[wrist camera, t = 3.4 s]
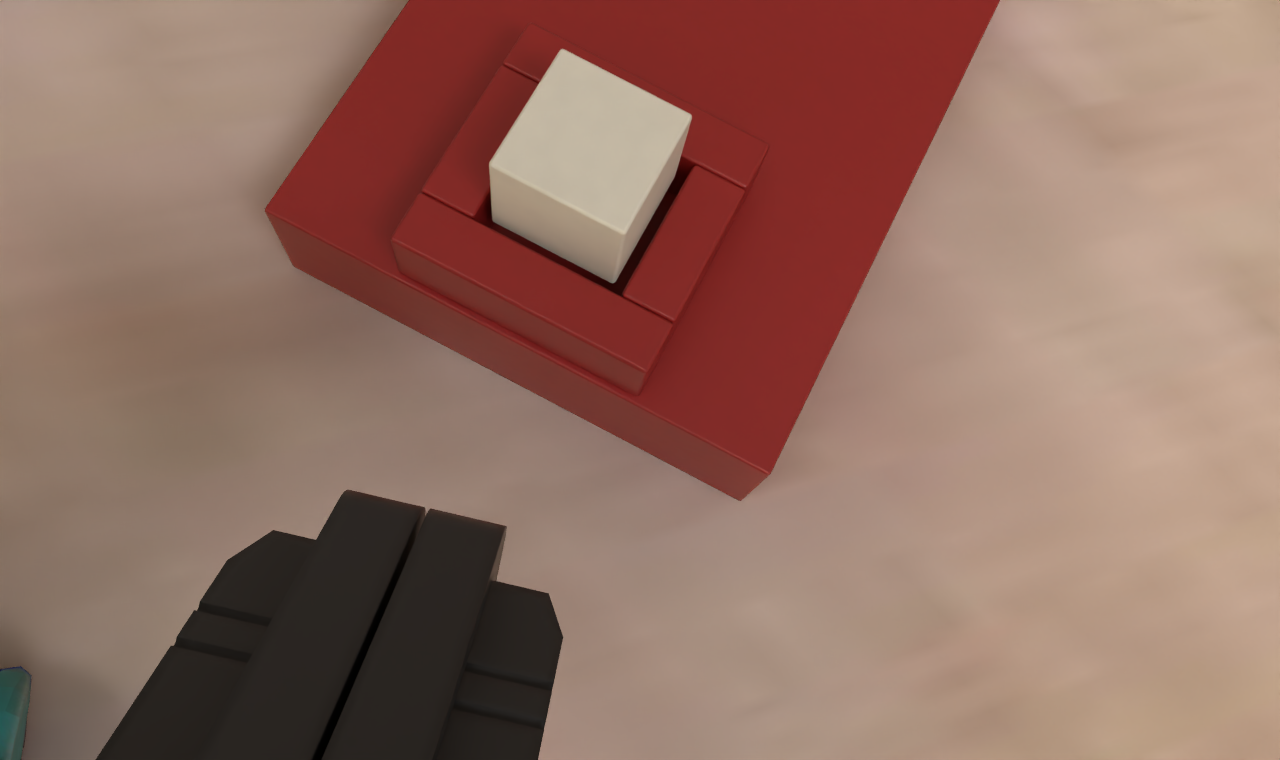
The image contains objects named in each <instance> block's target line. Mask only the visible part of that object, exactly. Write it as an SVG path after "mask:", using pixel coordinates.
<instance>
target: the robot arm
mask: <svg viewBox="0 0 1280 760" xmlns="http://www.w3.org/2000/svg"><path fill="white" fill-rule="evenodd" d="M506 529H507V526H503V525H499V524H495V523H490V522H486V521H482V520H477V519H473V518H469V517H465V516H460V515H456V514H452V513H447V512H443V511H439V510H435V509H430V510H429V511H428V513H427V514H426V517H425V508H424V507H420V506H416V505H412V504H407V503H403V502H399V501H395V500H390V499H386V498H382V497H377V496H373V495H369V494H365V493H360V492H356V491H352V490H346V491H344V493H343V494H342V495H341V497H340V498H339V500H338V502H337V504H336V505H335V507H334V509H333V511H332V513H331V514H330V516H329V518H328V520H327V522H326V523H325V525H324V527H323V529H322V530H321V532H320V534H319V536H318V538H317V539H316V540H314V539H309V538H305V537H301V536H296V535H292V534H288V533H283V532H279V531H275V530H273V531H271V532H270V533H268V534H267V535H265V536H264V537H262V538H261V539H259V540H258V541H256V542H255V543H253V544H251V545H250V546H248V547H247V548H245V549H244V550H242V551H241V552H239V553H238V554H236V555H235V556H233V557H231V558H230V559H228V560H227V561H226V563H225V564H224V566H223V567H222V569H221V570H220V572H219V574H218V575H217V577H216V578H215V580H214V581H213V583H212V584H211V586H210V587H209V589H208V590H207V592H206V593H205V595H204V596H203V598H202V599H201V601H200V604H199V607H198V610H197V611H196V610H194V611H193V613H192V614H191V616H190V617H189V619H188V621H187V622H186V624H185V625H184V627H183V628H182V630H181V631H180V633H179V634H178V636H177V639H176V642H175V645H174V646H170V648H169V649H168V651H167V652H166V654H165V655H164V657H163V658H162V660H161V661H160V663H159V665H158V666H157V668H156V669H155V671H154V672H153V674H152V675H151V677H150V678H149V680H148V681H147V683H146V684H145V686H144V687H143V689H142V690H141V692H140V693H139V695H138V696H137V698H136V699H135V701H134V702H133V704H132V705H131V707H130V709H129V710H128V712H127V713H126V715H125V716H124V718H123V719H122V721H121V722H120V724H119V725H118V727H117V728H116V730H115V731H114V733H113V734H112V736H111V737H110V739H109V740H108V742H107V743H106V745H105V746H104V748H103V749H102V751H101V753H100V754H99V756H98V757H97V759H96V760H538V756H539V752H540V747H541V742H542V737H543V732H544V726H545V722H546V718H547V713H548V708H549V703H550V698H551V693H552V688H553V683H554V679H555V674H556V669H557V664H558V659H559V654H560V650H561V645H562V640H563V635H562V632H561V629H560V626H559V623H558V620H557V617H556V614H555V611H554V608H553V605H552V602H551V599H550V596H549V593H544V592H540V591H536V590H531V589H527V588H523V587H518V586H514V585H510V584H505V583H501V582H497V581H496V579H497V575H498V570H499V565H500V560H501V556H502V551H503V546H504V541H505V536H506Z"/></svg>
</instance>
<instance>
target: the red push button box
mask: <svg viewBox="0 0 1280 760" xmlns="http://www.w3.org/2000/svg"><path fill="white" fill-rule="evenodd" d="M999 1H1000V0H409V1H408V2H407V4H406V5H405V7H404V8H403V10H402V11H401V13H400V14H399V15H398V17H397V18H396V20H395V21H394V23H393V24H392V26H391V27H390V28H389V30H388V31H387V33H386V34H385V36H384V37H383V39H382V40H381V42H380V43H379V44H378V46H377V47H376V49H375V50H374V52H373V53H372V55H371V56H370V57H369V59H368V60H367V62H366V63H365V65H364V66H363V68H362V69H361V71H360V72H359V73H358V75H357V76H356V78H355V79H354V81H353V82H352V84H351V85H350V86H349V88H348V89H347V91H346V92H345V94H344V95H343V97H342V98H341V99H340V101H339V102H338V104H337V105H336V107H335V108H334V110H333V111H332V113H331V114H330V115H329V117H328V118H327V120H326V121H325V123H324V124H323V126H322V127H321V128H320V130H319V131H318V133H317V134H316V136H315V137H314V139H313V140H312V141H311V143H310V144H309V146H308V147H307V149H306V150H305V152H304V153H303V155H302V156H301V157H300V159H299V160H298V162H297V163H296V165H295V166H294V168H293V169H292V170H291V172H290V173H289V175H288V176H287V178H286V179H285V181H284V182H283V183H282V185H281V186H280V188H279V189H278V191H277V192H276V194H275V195H274V197H273V198H272V199H271V201H270V202H269V204H268V205H267V207H266V208H265V212H266V214H267V216H268V218H269V220H270V222H271V224H272V226H273V227H274V229H275V231H276V233H277V235H278V237H279V239H280V241H281V243H282V245H283V247H284V249H285V251H286V253H287V255H288V256H289V258H290V260H291V262H292V264H293V266H294V267H296V268H298V269H300V270H302V271H304V272H306V273H307V274H309V275H311V276H313V277H315V278H317V279H319V280H321V281H323V282H325V283H326V284H328V285H330V286H332V287H334V288H336V289H338V290H340V291H342V292H344V293H345V294H347V295H349V296H351V297H353V298H355V299H357V300H359V301H361V302H363V303H364V304H366V305H368V306H370V307H372V308H374V309H376V310H378V311H380V312H382V313H383V314H385V315H387V316H389V317H391V318H393V319H395V320H397V321H399V322H401V323H402V324H404V325H406V326H408V327H410V328H412V329H414V330H416V331H418V332H420V333H421V334H423V335H425V336H427V337H429V338H431V339H433V340H435V341H437V342H439V343H441V344H442V345H444V346H446V347H448V348H450V349H452V350H454V351H456V352H458V353H460V354H461V355H463V356H465V357H467V358H469V359H471V360H473V361H475V362H477V363H479V364H480V365H482V366H484V367H486V368H488V369H490V370H492V371H494V372H496V373H498V374H499V375H501V376H503V377H505V378H507V379H509V380H511V381H513V382H515V383H517V384H518V385H520V386H522V387H524V388H526V389H528V390H530V391H532V392H534V393H536V394H537V395H539V396H541V397H543V398H545V399H547V400H549V401H551V402H553V403H555V404H556V405H558V406H560V407H562V408H564V409H566V410H568V411H570V412H572V413H574V414H575V415H577V416H579V417H581V418H583V419H585V420H587V421H589V422H591V423H593V424H594V425H596V426H598V427H600V428H602V429H604V430H606V431H608V432H610V433H612V434H613V435H615V436H617V437H619V438H621V439H623V440H625V441H627V442H629V443H631V444H632V445H634V446H636V447H638V448H640V449H642V450H644V451H646V452H648V453H650V454H651V455H653V456H655V457H657V458H659V459H661V460H663V461H665V462H667V463H669V464H670V465H672V466H674V467H676V468H678V469H680V470H682V471H684V472H686V473H688V474H689V475H691V476H693V477H695V478H697V479H699V480H701V481H703V482H705V483H707V484H708V485H710V486H712V487H714V488H716V489H718V490H720V491H722V492H724V493H726V494H727V495H729V496H731V497H733V498H735V499H737V500H739V501H741V500H742V499H743V498H745V497H746V496H747V495H748V494H749V493H750V492H751V491H752V490H753V489H754V488H755V487H756V486H758V485H759V484H760V483H761V482H762V481H763V480H764V479H765V478H766V477H767V476H768V475H769V474H771V472H772V470H773V468H774V465H775V463H776V461H777V459H778V457H779V455H780V453H781V451H782V449H783V447H784V445H785V443H786V441H787V439H788V437H789V434H790V432H791V430H792V428H793V426H794V424H795V422H796V420H797V418H798V416H799V414H800V412H801V410H802V408H803V406H804V404H805V401H806V399H807V397H808V395H809V393H810V391H811V389H812V387H813V385H814V383H815V381H816V379H817V377H818V375H819V373H820V371H821V368H822V366H823V364H824V362H825V360H826V358H827V356H828V354H829V352H830V350H831V348H832V346H833V344H834V342H835V340H836V338H837V335H838V333H839V331H840V329H841V327H842V325H843V323H844V321H845V319H846V317H847V315H848V313H849V311H850V309H851V307H852V305H853V302H854V300H855V298H856V296H857V294H858V292H859V290H860V288H861V286H862V284H863V282H864V280H865V278H866V276H867V274H868V272H869V269H870V267H871V265H872V263H873V261H874V259H875V257H876V255H877V253H878V251H879V249H880V247H881V245H882V243H883V241H884V239H885V236H886V234H887V232H888V230H889V228H890V226H891V224H892V222H893V220H894V218H895V216H896V214H897V212H898V210H899V208H900V206H901V203H902V201H903V199H904V197H905V195H906V193H907V191H908V189H909V187H910V185H911V183H912V181H913V179H914V177H915V175H916V173H917V170H918V168H919V166H920V164H921V162H922V160H923V158H924V156H925V154H926V152H927V150H928V148H929V146H930V144H931V142H932V140H933V137H934V135H935V133H936V131H937V129H938V127H939V125H940V123H941V121H942V119H943V117H944V115H945V113H946V111H947V109H948V107H949V104H950V102H951V100H952V98H953V96H954V94H955V92H956V90H957V88H958V86H959V84H960V82H961V80H962V78H963V76H964V74H965V71H966V69H967V67H968V65H969V63H970V61H971V59H972V57H973V55H974V53H975V51H976V49H977V47H978V45H979V43H980V40H981V38H982V36H983V34H984V32H985V30H986V28H987V26H988V24H989V22H990V20H991V18H992V16H993V14H994V12H995V10H996V7H997V5H998V3H999ZM561 49H565V50H567V51H569V52H571V53H573V54H574V55H576V56H578V57H580V58H582V59H584V60H586V61H588V62H590V63H592V64H594V65H596V66H598V67H600V68H602V69H604V70H606V71H608V72H610V73H612V74H614V75H615V76H617V77H619V78H621V79H623V80H625V81H627V82H629V83H631V84H633V85H635V86H637V87H639V88H641V89H643V90H645V91H647V92H649V93H651V94H653V95H655V96H657V97H658V98H660V99H662V100H664V101H666V102H668V103H670V104H672V105H674V106H676V107H678V108H680V109H682V110H684V111H686V112H688V113H690V114H691V115H692V120H691V123H690V127H689V130H688V134H687V137H686V140H685V144H684V147H683V151H682V154H681V158H680V161H679V164H678V168H677V171H676V175H675V177H674V179H673V181H672V183H671V184H670V186H669V188H668V190H667V192H666V193H665V195H664V197H663V199H662V200H661V202H660V204H659V206H658V208H657V209H656V211H655V213H654V215H653V216H652V218H651V220H650V222H649V224H648V225H647V227H646V229H645V231H644V232H643V234H642V236H641V238H640V240H639V241H638V243H637V245H636V247H635V248H634V250H633V252H632V254H631V256H630V257H629V259H628V261H627V263H626V264H625V266H624V268H623V270H622V271H621V273H620V275H619V277H618V279H617V280H616V282H615V283H610V282H608V281H606V280H604V279H602V278H600V277H599V276H597V275H595V274H593V273H591V272H589V271H587V270H585V269H583V268H581V267H579V266H577V265H575V264H574V263H572V262H570V261H568V260H566V259H564V258H562V257H560V256H558V255H556V254H554V253H552V252H550V251H549V250H547V249H545V248H543V247H541V246H539V245H537V244H535V243H533V242H531V241H529V240H527V239H525V238H524V237H522V236H520V235H518V234H516V233H514V232H512V231H510V230H508V229H506V228H504V227H502V226H500V225H499V224H497V223H495V222H493V220H492V208H491V191H490V174H489V162H490V161H491V159H492V157H493V156H494V154H495V153H496V151H497V149H498V148H499V146H500V145H501V143H502V141H503V140H504V138H505V137H506V135H507V134H508V132H509V130H510V129H511V127H512V126H513V124H514V122H515V121H516V119H517V118H518V116H519V114H520V113H521V111H522V110H523V108H524V106H525V105H526V103H527V102H528V100H529V98H530V97H531V95H532V94H533V92H534V90H535V89H536V87H537V86H538V84H539V82H540V81H541V79H542V78H543V76H544V75H545V73H546V71H547V70H548V68H549V67H550V65H551V63H552V62H553V60H554V59H555V57H556V55H557V54H558V52H559V51H560V50H561Z"/></svg>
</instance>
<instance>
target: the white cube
mask: <svg viewBox="0 0 1280 760" xmlns="http://www.w3.org/2000/svg"><path fill="white" fill-rule="evenodd" d="M691 120H692V115H691V114H690V113H688V112H686V111H684V110H682V109H680V108H678V107H676V106H674V105H672V104H670V103H668V102H666V101H664V100H662V99H660V98H658V97H657V96H655V95H653V94H651V93H649V92H647V91H645V90H643V89H641V88H639V87H637V86H635V85H633V84H631V83H629V82H627V81H625V80H623V79H621V78H619V77H617V76H615V75H614V74H612V73H610V72H608V71H606V70H604V69H602V68H600V67H598V66H596V65H594V64H592V63H590V62H588V61H586V60H584V59H582V58H580V57H578V56H576V55H574V54H573V53H571V52H569V51H567V50H565V49H561V50H560V51H559V52H558V54H557V55H556V57H555V59H554V60H553V62H552V63H551V65H550V67H549V68H548V70H547V71H546V73H545V75H544V76H543V78H542V79H541V81H540V82H539V84H538V86H537V87H536V89H535V90H534V92H533V94H532V95H531V97H530V98H529V100H528V102H527V103H526V105H525V106H524V108H523V110H522V111H521V113H520V114H519V116H518V118H517V119H516V121H515V122H514V124H513V126H512V127H511V129H510V130H509V132H508V134H507V135H506V137H505V138H504V140H503V141H502V143H501V145H500V146H499V148H498V149H497V151H496V153H495V154H494V156H493V157H492V159H491V161H490V162H489V174H490V191H491V208H492V220H493V222H495V223H497V224H499V225H500V226H502V227H504V228H506V229H508V230H510V231H512V232H514V233H516V234H518V235H520V236H522V237H524V238H525V239H527V240H529V241H531V242H533V243H535V244H537V245H539V246H541V247H543V248H545V249H547V250H549V251H550V252H552V253H554V254H556V255H558V256H560V257H562V258H564V259H566V260H568V261H570V262H572V263H574V264H575V265H577V266H579V267H581V268H583V269H585V270H587V271H589V272H591V273H593V274H595V275H597V276H599V277H600V278H602V279H604V280H606V281H608V282H610V283H615V282H616V280H617V279H618V277H619V275H620V273H621V271H622V270H623V268H624V266H625V264H626V263H627V261H628V259H629V257H630V256H631V254H632V252H633V250H634V248H635V247H636V245H637V243H638V241H639V240H640V238H641V236H642V234H643V232H644V231H645V229H646V227H647V225H648V224H649V222H650V220H651V218H652V216H653V215H654V213H655V211H656V209H657V208H658V206H659V204H660V202H661V200H662V199H663V197H664V195H665V193H666V192H667V190H668V188H669V186H670V184H671V183H672V181H673V179H674V177H675V175H676V171H677V168H678V164H679V161H680V158H681V154H682V151H683V147H684V144H685V140H686V137H687V134H688V130H689V127H690V123H691Z"/></svg>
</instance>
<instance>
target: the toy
mask: <svg viewBox="0 0 1280 760" xmlns="http://www.w3.org/2000/svg"><path fill="white" fill-rule="evenodd" d="M31 677H32V675H31V674H29V673H28V672H27V671H26V670H25V669H24V668H22V667H21V666H18V667H12V668H5V669H0V760H21V756H22V749H23V747H24V742H25V734H26V724H27V713H28V708H29V702H30V690H31Z"/></svg>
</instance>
